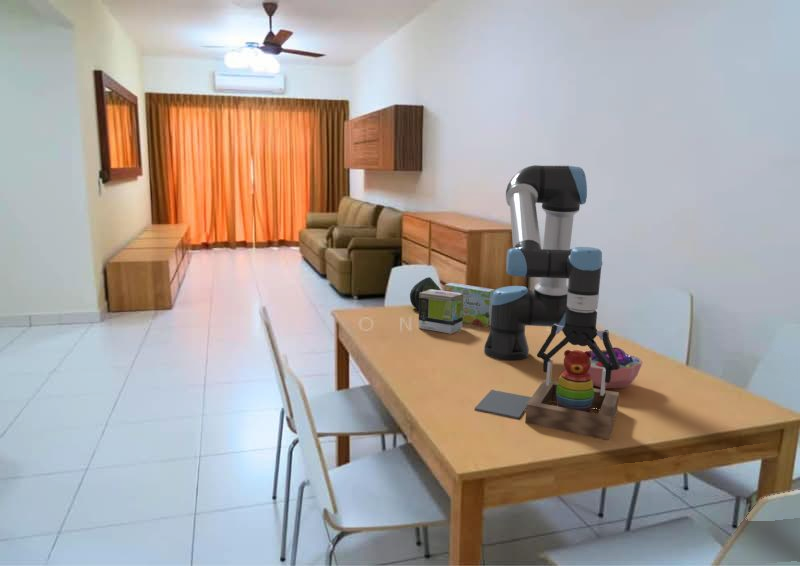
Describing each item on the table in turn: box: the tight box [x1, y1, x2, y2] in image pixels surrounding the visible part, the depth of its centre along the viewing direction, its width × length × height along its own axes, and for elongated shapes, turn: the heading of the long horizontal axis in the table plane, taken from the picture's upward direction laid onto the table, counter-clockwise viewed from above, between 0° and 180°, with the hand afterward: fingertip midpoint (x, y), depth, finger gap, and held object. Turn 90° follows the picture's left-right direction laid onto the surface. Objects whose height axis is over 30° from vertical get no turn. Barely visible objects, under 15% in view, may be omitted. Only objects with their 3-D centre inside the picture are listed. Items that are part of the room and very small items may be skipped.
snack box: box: [444, 282, 496, 328], centre depth 244 cm, size 21×6×15 cm, turn 55°
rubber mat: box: [474, 389, 532, 420], centre depth 160 cm, size 12×15×1 cm
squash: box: [409, 276, 442, 310], centre depth 264 cm, size 14×15×15 cm
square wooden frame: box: [524, 379, 620, 441], centre depth 153 cm, size 20×20×5 cm
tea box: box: [418, 289, 463, 335], centre depth 232 cm, size 15×10×15 cm
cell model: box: [585, 346, 643, 390], centre depth 175 cm, size 17×20×11 cm
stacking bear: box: [556, 349, 594, 413], centre depth 152 cm, size 11×10×18 cm
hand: (574, 389), depth 152 cm, fingers open, 13 cm apart
